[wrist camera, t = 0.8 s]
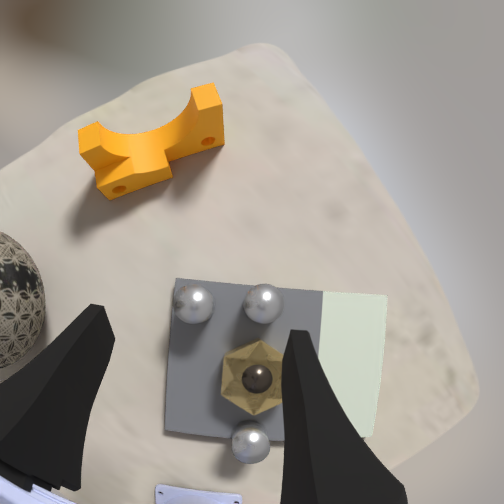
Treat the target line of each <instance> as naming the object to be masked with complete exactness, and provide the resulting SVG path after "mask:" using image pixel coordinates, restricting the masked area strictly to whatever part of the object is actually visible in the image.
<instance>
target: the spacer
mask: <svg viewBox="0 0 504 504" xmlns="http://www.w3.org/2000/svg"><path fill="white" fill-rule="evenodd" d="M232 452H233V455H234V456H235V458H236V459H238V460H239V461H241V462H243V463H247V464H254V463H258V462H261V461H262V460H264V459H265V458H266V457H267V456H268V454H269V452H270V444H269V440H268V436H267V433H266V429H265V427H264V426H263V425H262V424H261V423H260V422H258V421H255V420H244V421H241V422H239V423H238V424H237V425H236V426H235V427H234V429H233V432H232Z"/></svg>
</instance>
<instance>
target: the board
mask: <svg viewBox="0 0 504 504" xmlns="http://www.w3.org/2000/svg"><path fill="white" fill-rule="evenodd" d="M188 284H197V285H200V286H202V287H203V288H205V289H206V290H207V291H208V292H209V293H210V294H211V295H212V296H213V298H214V301H215V310H214V313H213V315H212V316H211V317H210V318H209V319H208V320H207V321H205V322H201V323H196V324H189V323H186V322H184V321H182V320H181V319H179V318H178V317H177V315H176V314H175V312H174V308H173V310H172V320H171V331H170V343H169V357H168V371H167V389H166V411H165V430H169V431H175V432H181V433H188V434H195V435H203V436H212V437H222V438H232V432H233V429H234V427H235V426H236V425H237V424H238V423H239V422H241V421H244V420H255V421H258V422H260V423H261V424H262V425H263V426H264V427H265V429H266V433H267V436H268V440H270V441H284V421H283V406H282V403H281V404H279V405H276V406H274V407H272V408H270V409H268V410H265V411H263V412H261V413H259V414H256V415H252V414H250V413H249V412H247V411H245V410H244V409H242V408H240V407H239V406H237V405H236V404H234V403H232V402H231V401H229V400H228V399H226V398H225V397H223V396H222V395H221V385H222V373H223V361H224V355H225V353H226V352H228V351H230V350H232V349H235V348H237V347H239V346H241V345H244V344H246V343H248V342H250V341H252V340H254V339H257V338H259V339H261V340H262V341H264V342H265V343H267V344H268V345H270V346H271V347H273V348H274V349H276V350H277V351H279V352H280V353H282V354H284V352H285V348H286V345H287V341H288V337H289V334H290V330H291V329H294V330H307V331H308V332H309V333H310V337H311V340H312V343H313V346H314V348H315V351H316V354H317V356H318V359H319V361H320V364H321V366H322V368H323V371H324V373H325V375H326V377H327V379H328V381H329V384H330V386H331V388H332V390H333V392H334V394H335V396H336V397H337V399H338V401H339V403H340V405H341V407H342V408H343V410H344V412H345V413H346V415H347V417H348V418H349V420H350V422H351V423H352V425H353V426H354V428H355V429H356V431H357V432H358V434H359V435H360V436H361V437H371V436H372V433H373V427H374V422H375V416H376V410H377V403H378V396H379V389H380V381H381V373H382V364H383V354H384V343H385V330H386V314H387V295H375V294H358V293H343V292H328V291H314V290H301V289H288V288H277V289H278V290H279V291H280V292H281V294H282V295H283V298H284V309H283V312H282V314H281V315H280V317H279V318H278V319H276V320H275V321H273V322H271V323H266V324H262V323H258V322H255V321H253V320H251V319H250V318H249V317H248V316H247V315H246V313H245V311H244V307H243V303H244V299H245V297H246V295H247V293H248V292H249V290H250V289H251V288H253V287H254V286H253V285H242V284H231V283H221V282H210V281H201V280H191V279H182V278H176V282H175V291H174V296H175V294H176V292H177V291H178V290H179V289H180V288H181V287H183V286H185V285H188Z"/></svg>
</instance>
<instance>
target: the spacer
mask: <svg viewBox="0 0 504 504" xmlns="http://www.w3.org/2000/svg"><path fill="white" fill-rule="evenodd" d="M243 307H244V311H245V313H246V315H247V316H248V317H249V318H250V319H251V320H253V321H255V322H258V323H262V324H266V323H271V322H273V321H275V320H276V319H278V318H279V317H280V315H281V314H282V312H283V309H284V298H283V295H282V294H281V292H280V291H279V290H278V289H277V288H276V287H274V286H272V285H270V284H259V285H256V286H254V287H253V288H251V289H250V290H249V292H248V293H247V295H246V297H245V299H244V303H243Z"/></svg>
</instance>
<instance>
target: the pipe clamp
mask: <svg viewBox="0 0 504 504" xmlns="http://www.w3.org/2000/svg"><path fill="white" fill-rule="evenodd" d="M78 140H79V153H80V155H81V156H82V157H83V159H84V160H85V161H86V162H87V163H88V164H89V165H90V167H91V168H92V169H93V170H94V171H95V177H96V184H97V188H98V189H99V190H100V191H101V192H102V193H103V194H104V195H105V196H106V197H107V198H108V199H109V200H112V199H115V198H117V197H120V196H123V195H125V194H128V193H130V192H133V191H136V190H139V189H141V188H144V187H147V186H150V185H152V184H155V183H158V182H161V181H164V180H167V179H170V178H172V177H173V175H172V172H171V168H170V164H169V162H170V161H173V160H176V159H179V158H182V157H185V156H188V155H191V154H194V153H198V152H201V151H204V150H207V149H211V148H214V147H217V146H221V145H224V144H225V142H224V125H223V106H222V102H221V99H220V97H219V95H218V92H217V90H216V87H215V85H214V83H210V84H206V85H202V86H198V87H195V88H191V97H190V100H189V103H188V105H187V106H186V108H185V109H184V110H183V112H182V113H181V114H180V115H179V116H178V117H176V118H175V119H174V120H172V121H171V122H169V123H168V124H166V125H164V126H162V127H160V128H157V129H155V130H152V131H149V132H144V133H139V134H119V133H115V132H112V131H109V130H107V129H106V128H104V127H103V126H102V125H101V124H100V123H99V122H98V121H97V122H95V123H93V124H91V125H88V126H86V127H84V128H82V129H79V130H78Z"/></svg>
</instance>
